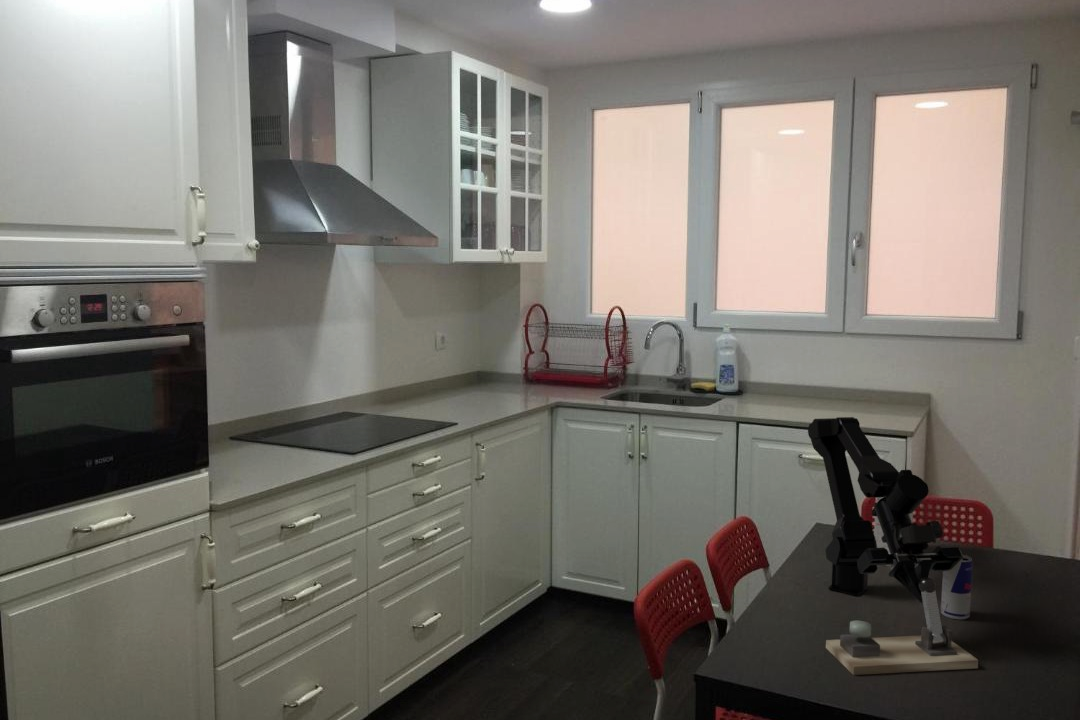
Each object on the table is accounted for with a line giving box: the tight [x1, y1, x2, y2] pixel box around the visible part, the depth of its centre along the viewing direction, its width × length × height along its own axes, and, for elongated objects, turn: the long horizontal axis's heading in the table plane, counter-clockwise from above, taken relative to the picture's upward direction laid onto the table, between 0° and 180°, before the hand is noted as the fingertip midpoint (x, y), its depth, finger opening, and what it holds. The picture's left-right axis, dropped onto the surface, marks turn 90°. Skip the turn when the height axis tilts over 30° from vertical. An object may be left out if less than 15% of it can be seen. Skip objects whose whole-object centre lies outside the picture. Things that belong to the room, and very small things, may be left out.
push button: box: [849, 619, 872, 637], centre depth 162 cm, size 4×4×2 cm
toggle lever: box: [918, 576, 947, 645], centre depth 164 cm, size 3×3×12 cm
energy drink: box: [940, 554, 974, 621], centre depth 182 cm, size 5×5×12 cm
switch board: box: [825, 625, 979, 676], centre depth 163 cm, size 11×23×5 cm, turn 97°
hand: (924, 601), depth 167 cm, fingers closed, pressing on toggle lever
